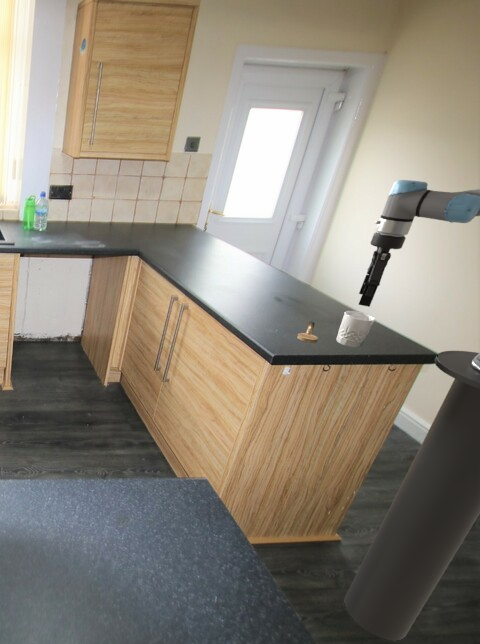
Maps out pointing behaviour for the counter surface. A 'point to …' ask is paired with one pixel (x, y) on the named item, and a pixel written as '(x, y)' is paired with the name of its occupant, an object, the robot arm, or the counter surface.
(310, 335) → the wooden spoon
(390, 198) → the robot arm
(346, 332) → the white cup
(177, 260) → the counter surface
